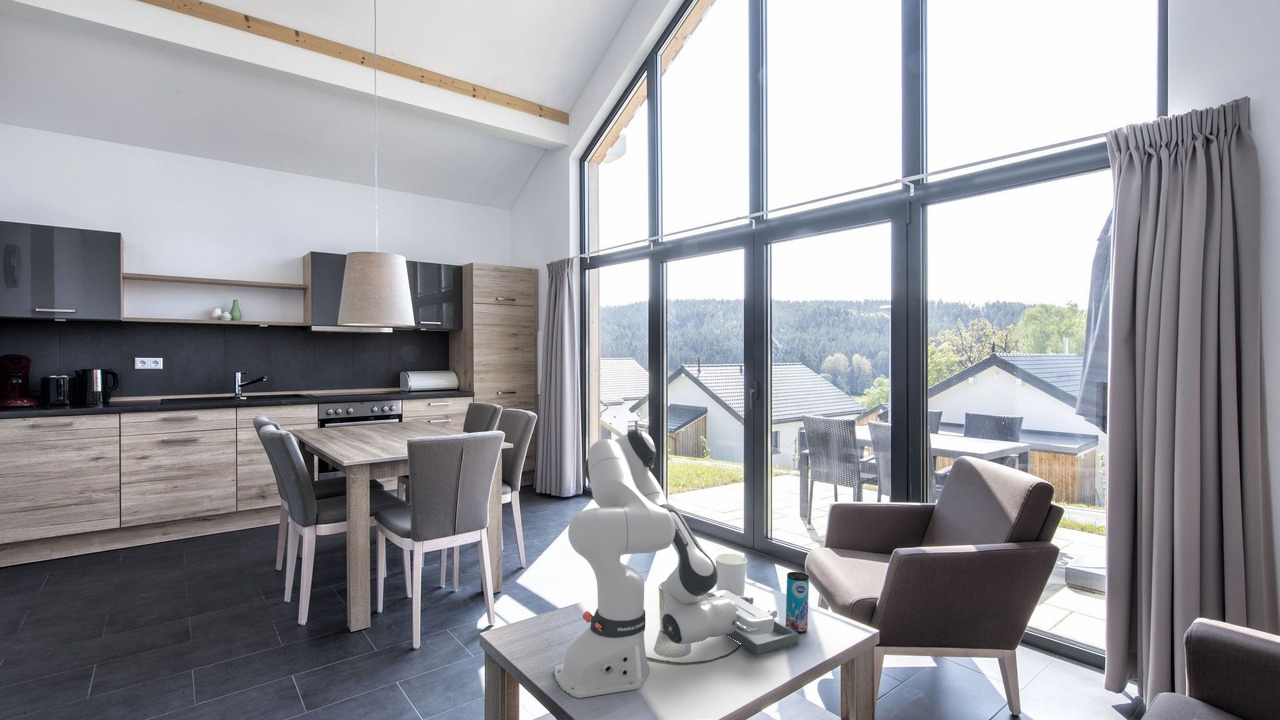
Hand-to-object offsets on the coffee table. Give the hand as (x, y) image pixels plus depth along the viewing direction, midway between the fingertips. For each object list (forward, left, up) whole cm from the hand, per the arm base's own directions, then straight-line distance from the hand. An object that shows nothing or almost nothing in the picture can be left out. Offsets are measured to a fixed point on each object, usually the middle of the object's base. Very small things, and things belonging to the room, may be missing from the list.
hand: (763, 606), depth 164 cm
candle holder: (+9, +26, -9) cm, 29 cm away
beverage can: (+12, 0, -9) cm, 15 cm away
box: (-1, 0, -9) cm, 9 cm away
